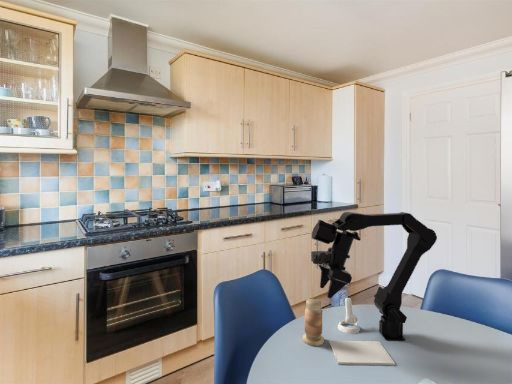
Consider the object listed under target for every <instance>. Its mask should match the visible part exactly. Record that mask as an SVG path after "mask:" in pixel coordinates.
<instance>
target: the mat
mask: <svg viewBox="0 0 512 384" xmlns="http://www.w3.org/2000/svg"><path fill="white" fill-rule="evenodd" d="M329 345H330V347H331V350H332V353H333V354H334V357H335V360H336V362H337V364H338V365H359V366H360V365H362V366H363V365H365V366H396V363H395V361H394V360H393V357H391V355H389V353H388V351H387V349H385V347H384V346H383V345H382V343H381V342H380V341H379V340H378V341H376V340H375V341H374V340H369V341H368V340H329Z"/></svg>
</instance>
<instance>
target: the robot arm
mask: <svg viewBox="0 0 512 384" xmlns="http://www.w3.org/2000/svg"><path fill="white" fill-rule="evenodd" d="M398 225H399V226H401V227H402V228H403V230H404V231H405V232H406V233H407V234H408V236H407V239H406V242H407V243H406V249H405V252H404V253H403V255H402V257H401V259H400V261H399V263H398V265H397V267H396V269H395V270H394V272H393V274H392V276H391V278H390V280H389V282H388V284H387V285H385V286H384V287H381V286H378V289H377V292H376V293H375V294H374V295H373V297H374V299H373V303H374V306H375V308H376V309H377V310H378V311H379V313H380V314H381V315H380V320H379V322H378V323H379V324H378V325H379V326H378V328H379V329H378V332H379V334H380V335H381V337H383V338H384V340H386V341H405V340H406V338H405V336H404V324H406V321H407V319H408V317H407V316H406V315H405V314H404V312H402V311H401V307H402V301H403V291H404V289H405V288H406V286H407V284H408V282H409V280H410V279H411V277H412V275H413V273H414V271H415V269H416V267H417V265H418V263H419V262H420V259H421V257H422V256H423V255H424V254H425V253H427V252H429V251H430V250H431V249H432V247H433V246H434V245H435V244H436V242H437V239H438V235H437V234H436V232H435V230H434V229H432V228H429V227H427V226H426V225H425V224H423V223H422V222H421V221H420V220H418V219H417V218H416V217H415V216H414V215H413V214H411V213H410V212H405V211H404V212H403V211H401V212H396V213H395V212H391V213H372V214H370V213H369V214H365V213H359V212H353V211H344V212H342V214H341V215H340V217H339V218H338V219H336V220H335V221H334V222H332V223H329V222H326V221H324V220H322V219H318V221H317V223H316V224H315V225H314V227H313V228H312V232H311V239H312V240H315V241H317V242H321V243H324V244H327V245H330V244H332V245H331V247H328V248H327V250H326V251H325V250H317V251H316V250H313V251H311V252H310V253H311V255H310V256H311V257H310V259H311V262H312V263H313V264H314V265H317V266H318V267H319V269H320V281H319V284H320V285H319V288H320V289H324V288H325V287H326V286H327V284H328V283H329V286H328V290H327V296H326V297H327V298H328V299H331V298H333V297H334V296H335V295H336V294H337V293H338V292H339V291H341V290H342V288H344V287H345V286H348V285H349V284H351V283H352V279H353V277H352V274H351V273H350V272H348V271H347V270H346V268H347V267H346V266H345V265H346V261H347V259H350V258H351V255H349V253H350V251H351V248H352V244H353V243H354V240H357V241H361V237H360V236H359V233H358V232H357V231H362V230H365V229H367V228H370V227H381V226H382V227H384V226H387V227H388V226H398Z"/></svg>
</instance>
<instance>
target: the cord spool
mask: <svg viewBox="0 0 512 384" xmlns="http://www.w3.org/2000/svg"><path fill="white" fill-rule="evenodd" d="M302 342H303V343H304V344H306V345H308V346H311V347H320V346H322V345H323V344H325V337H324V336H323V310H322V301H321V300H320V299H316V298H308V299H306V301H305V309H304V334H303V335H302Z"/></svg>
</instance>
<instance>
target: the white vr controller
mask: <svg viewBox="0 0 512 384" xmlns="http://www.w3.org/2000/svg"><path fill="white" fill-rule="evenodd" d="M344 303H345V305H344V306H345V318H344V319H343V320H340V321H339V323H338V325H337V329H338V330H339V331H340V332H342V333H345V334H351V335H353V334H358V333H359V331H360V332H361V328H360V326H359V324H358V323H357V322H358V318H357V316H356V315H353V305H352V303H353V302H352V299H351V298H350V297H346V298H345V300H344ZM345 325H351V326H355V327H347V326H345Z"/></svg>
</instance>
